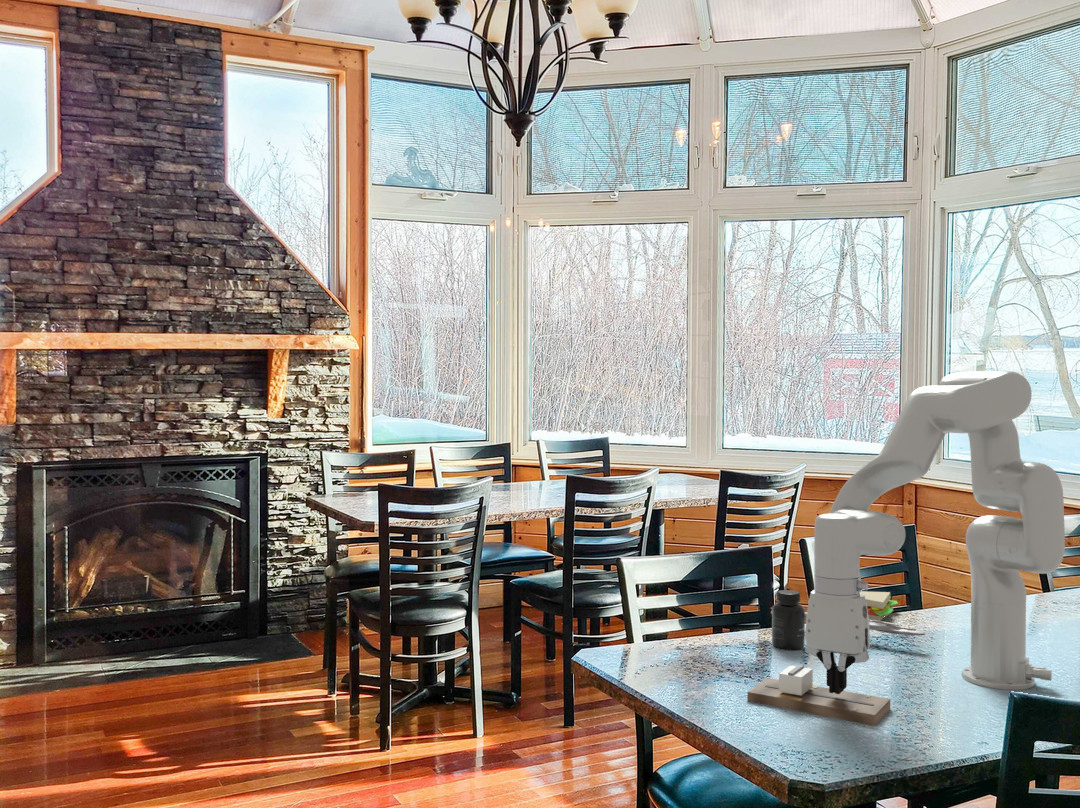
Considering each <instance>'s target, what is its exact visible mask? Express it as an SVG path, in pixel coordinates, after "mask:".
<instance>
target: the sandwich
mask: <svg viewBox="0 0 1080 808" xmlns="http://www.w3.org/2000/svg"><path fill="white" fill-rule="evenodd" d="M860 594H863V595H865V599H866V604H867V610H868V618H869V619H871V620H876V621H877V620H878V621H883V620H884V619H885V618H884V616H886V617H888V616H889V615H890V614H892V613H893V612H894V606H893V605H898V604H899V602H898V601H897V600H891V591H888V592H887V591H868V590H863V591H861V592H860ZM883 618H884V619H883Z"/></svg>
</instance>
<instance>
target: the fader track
mask: <svg viewBox="0 0 1080 808" xmlns="http://www.w3.org/2000/svg"><path fill="white" fill-rule="evenodd" d="M747 701H748V702H752V703H757V704H763V705H765V706H766V705H768V706H773V707H777V708H781V709H782V708H783V709H787V710H792V711H798V712H802V713H807V714H813V715H818V716H823V717H827V718H832V719H833V718H834V719H838V720H842V721H847V722H853V723H859V724H863V725H868V726H876V725H877V724H879V722H880V721H881V720H882V719H883V718H884V717H885V716H886V714H888V713H889V712H890V710H891V699H890V698H887V697H881V696H875V695H871V694H864V693H863V694H862V693H858V692H851V691H846V690H843V691H842V692H841V693H840V694H836V693H835V692H834V693H829V687H824V686H823V687H822V686H818V685H813V687H812V688H810V689H809V690H808V691H807V692H805V693H804V694H803V695H802V696H801V695H795V694H789V693H784V692H779V679H777V678H771V677H767V678H766V679H764V680H763V681H761V682H760V683H758V684H756V686H753V688H751V689H749V690H748V691H747Z"/></svg>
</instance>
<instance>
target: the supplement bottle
mask: <svg viewBox="0 0 1080 808" xmlns="http://www.w3.org/2000/svg"><path fill="white" fill-rule="evenodd" d="M776 601H777V602H776V603H774V604H773V606H772V607H773V608H772V609H771V611H772V614H771V617H772V618H771V645H772V647H773V648H775V649H778V650H782V649H783V650H784V651H801V650H803V649H804V648H805V643H806V639H805V631H806V620H805V619H806V618H805V612H806V611H805V610H806V608H805V607H804V606H803V605H802V604H801V603H800V602H801V592H799V591H797V590H792V589H791V590H790V589H782V590H781V589H780V590H777V591H776ZM800 604H801V605H800ZM804 608H805V609H804ZM783 650H782V651H783Z"/></svg>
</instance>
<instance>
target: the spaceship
mask: <svg viewBox="0 0 1080 808" xmlns="http://www.w3.org/2000/svg"><path fill="white" fill-rule="evenodd" d="M799 604H800V605H802V604H801V603H799ZM772 608H773V606H772V607H770V610H771V611H770V614H771V615H772ZM804 609H805V610H806V608H805V607H804ZM806 617H807V611H805V619H806ZM868 619H869V618H868ZM869 631H877V632H880V633H887V634H892V635H893V634H895V635H904V636H911V637H914V636H925V635H926V632H924V631H921V630H918V629H916V628H913V627H908V626H902V625H900V624H896V623H892V622H888V621H883V620H881V621H878V620H877V621H876V620H872V619H869Z"/></svg>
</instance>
